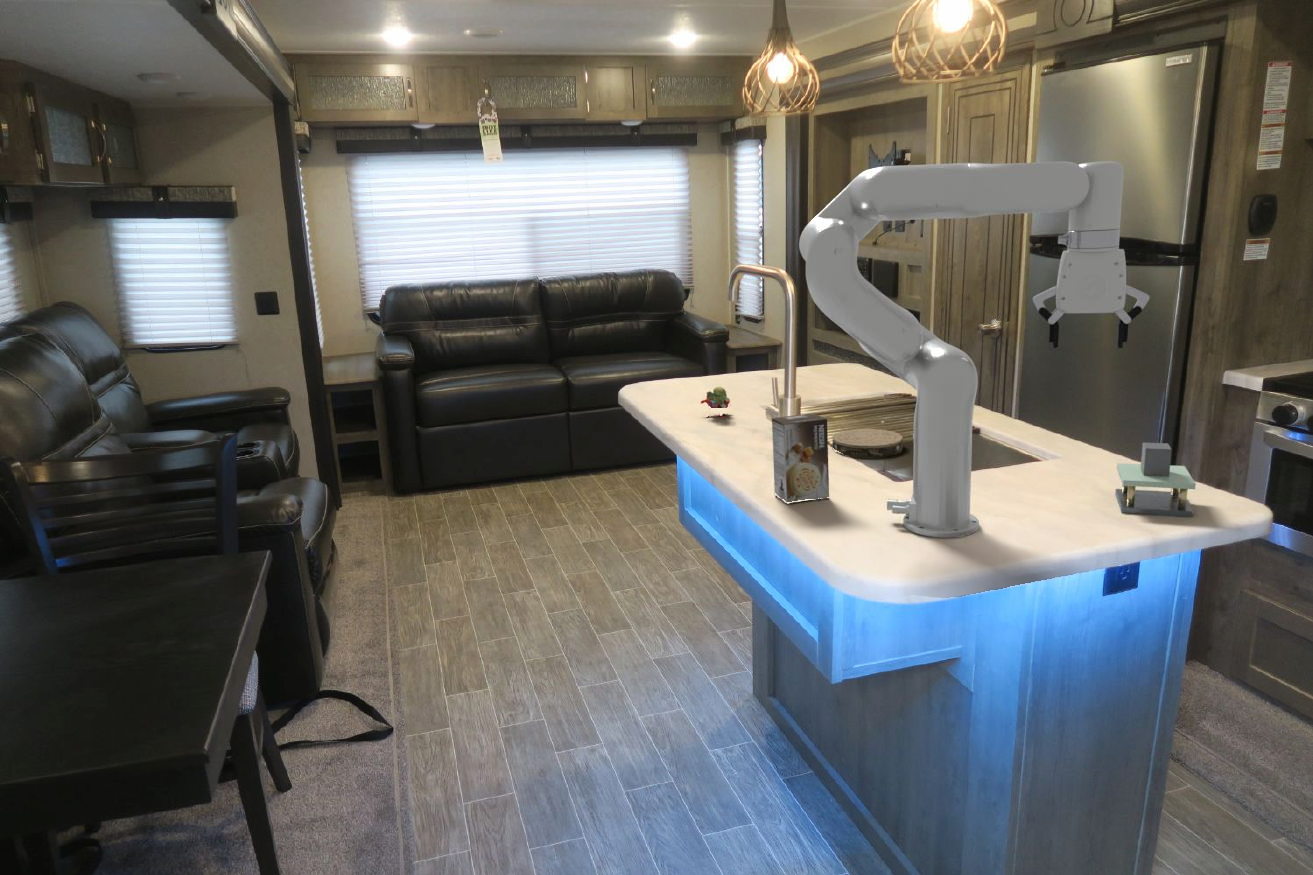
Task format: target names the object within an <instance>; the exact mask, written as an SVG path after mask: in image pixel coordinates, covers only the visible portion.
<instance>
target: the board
mask: <svg viewBox="0 0 1313 875" xmlns="http://www.w3.org/2000/svg"><path fill="white" fill-rule="evenodd" d="M1140 459H1141V460H1140V463H1139V464H1138V463H1123V462H1122V463H1120V462H1119V463H1116V470H1117V473H1118V476H1119V478H1120V479H1119V480H1121V484H1123V486H1136V487H1138V488H1139V487H1141V488H1142V487H1143V488H1144V487H1145V488H1160V489H1162V488H1164V489H1171V488H1179V490H1180V489H1188V490H1196V482H1195V480H1194V479H1193V477H1192V475H1191V474H1190V473H1189V471H1188V469H1187V467H1186V466H1185V465H1171V459H1172V448H1171V446H1170V445H1169V443H1164V442H1142V448H1141V458H1140Z"/></svg>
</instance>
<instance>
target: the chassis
mask: <svg viewBox="0 0 1313 875" xmlns="http://www.w3.org/2000/svg"><path fill="white" fill-rule="evenodd" d="M1121 484H1122V483H1121ZM1136 487H1137V486H1123V484H1122V487H1121V488H1115V497H1116V501H1117V503H1118V506H1119V510H1120V513H1121V514H1137V515H1138V514H1140V515H1150V516H1151V515H1152V516H1153V515H1155V516H1157V515H1158V516H1166V517H1167V516H1169V517H1186V518H1187V517H1188V518H1193V517H1194V510H1193V509H1192V507H1191V504H1190V503H1189V501H1188V491H1189V489H1179V488H1170V489H1171V490H1170V491H1165V490H1143V489H1136Z"/></svg>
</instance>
